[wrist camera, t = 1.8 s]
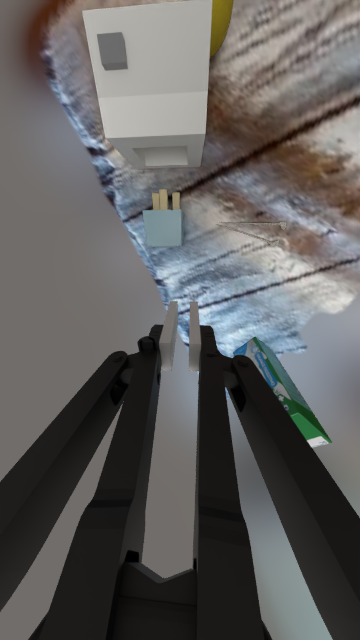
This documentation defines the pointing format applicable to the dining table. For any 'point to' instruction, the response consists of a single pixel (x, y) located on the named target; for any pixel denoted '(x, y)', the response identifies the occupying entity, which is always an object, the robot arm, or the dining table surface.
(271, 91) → the dining table surface
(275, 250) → the dining table surface
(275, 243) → the tweezers
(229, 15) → the lemon
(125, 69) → the socket
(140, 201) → the dining table surface
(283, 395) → the milk carton
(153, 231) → the plug
